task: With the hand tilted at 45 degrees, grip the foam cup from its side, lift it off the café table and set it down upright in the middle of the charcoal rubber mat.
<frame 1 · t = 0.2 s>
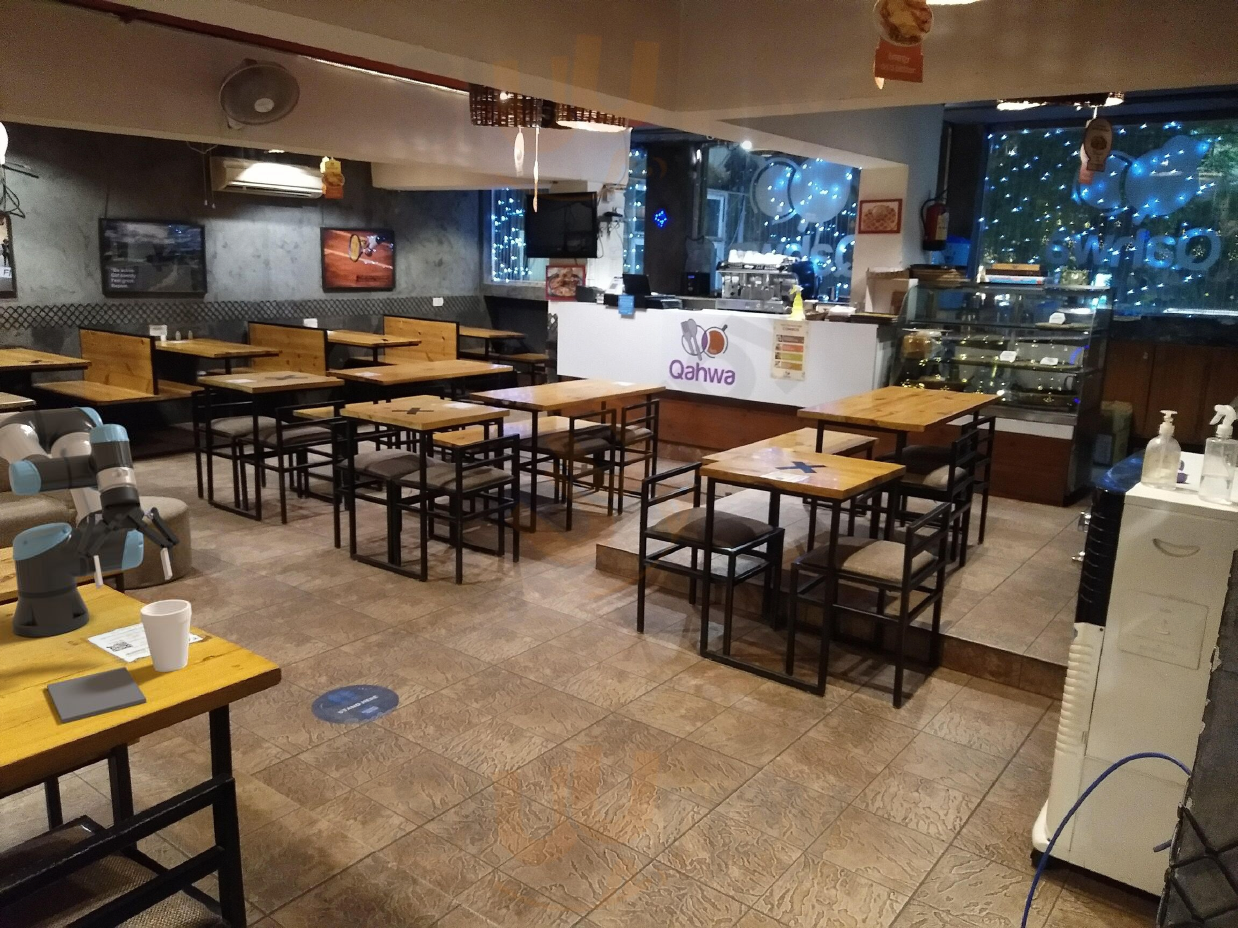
hand: (135, 582, 194), 16 cm above the table, tool tilted 35°, fingers open, 13 cm apart
foam cup: (170, 666, 191), on the table
rubber mat: (96, 695, 177), on the table
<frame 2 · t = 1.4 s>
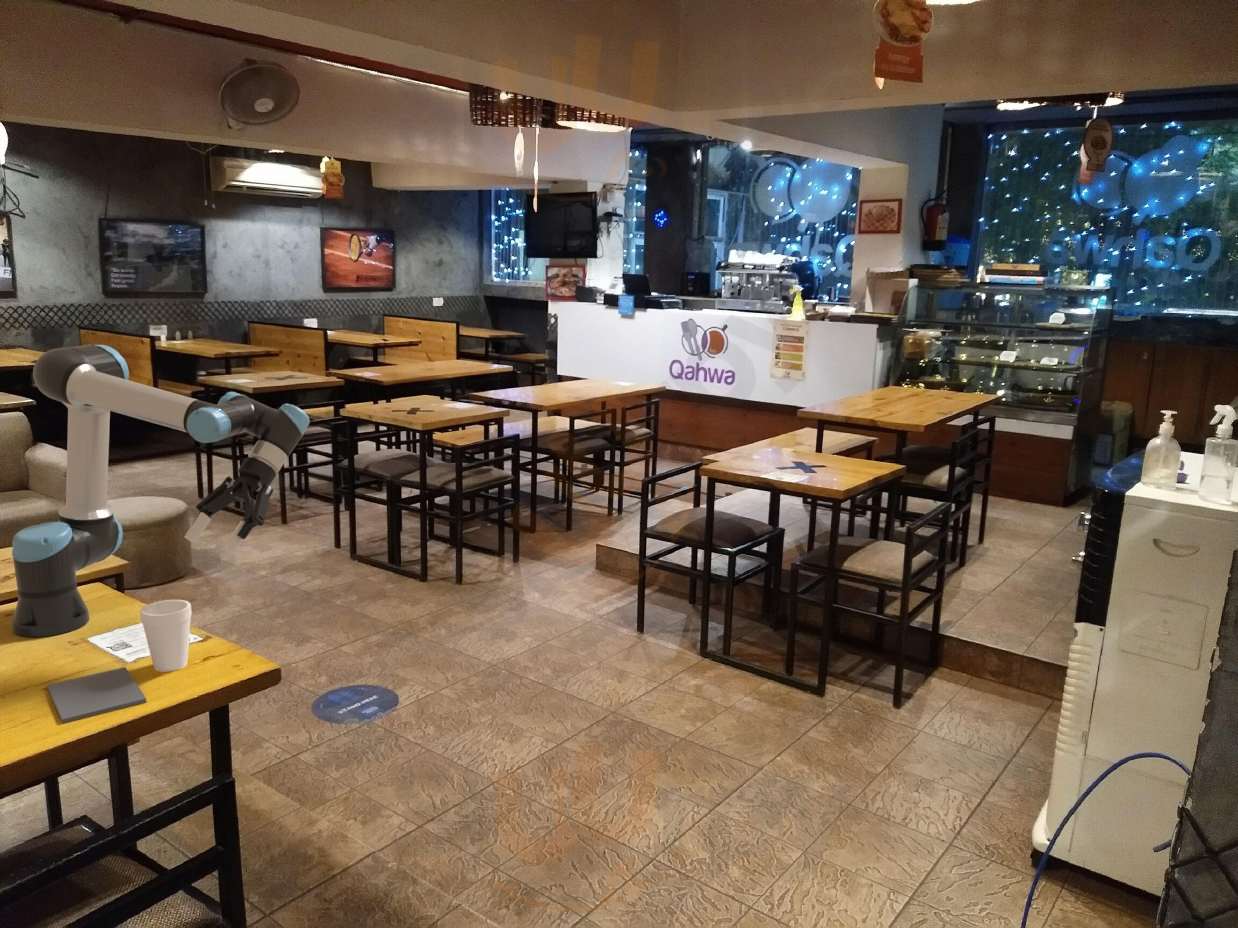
hand: (208, 545, 195), 24 cm above the table, tool tilted 45°, fingers open, 13 cm apart
nothing on the table moved.
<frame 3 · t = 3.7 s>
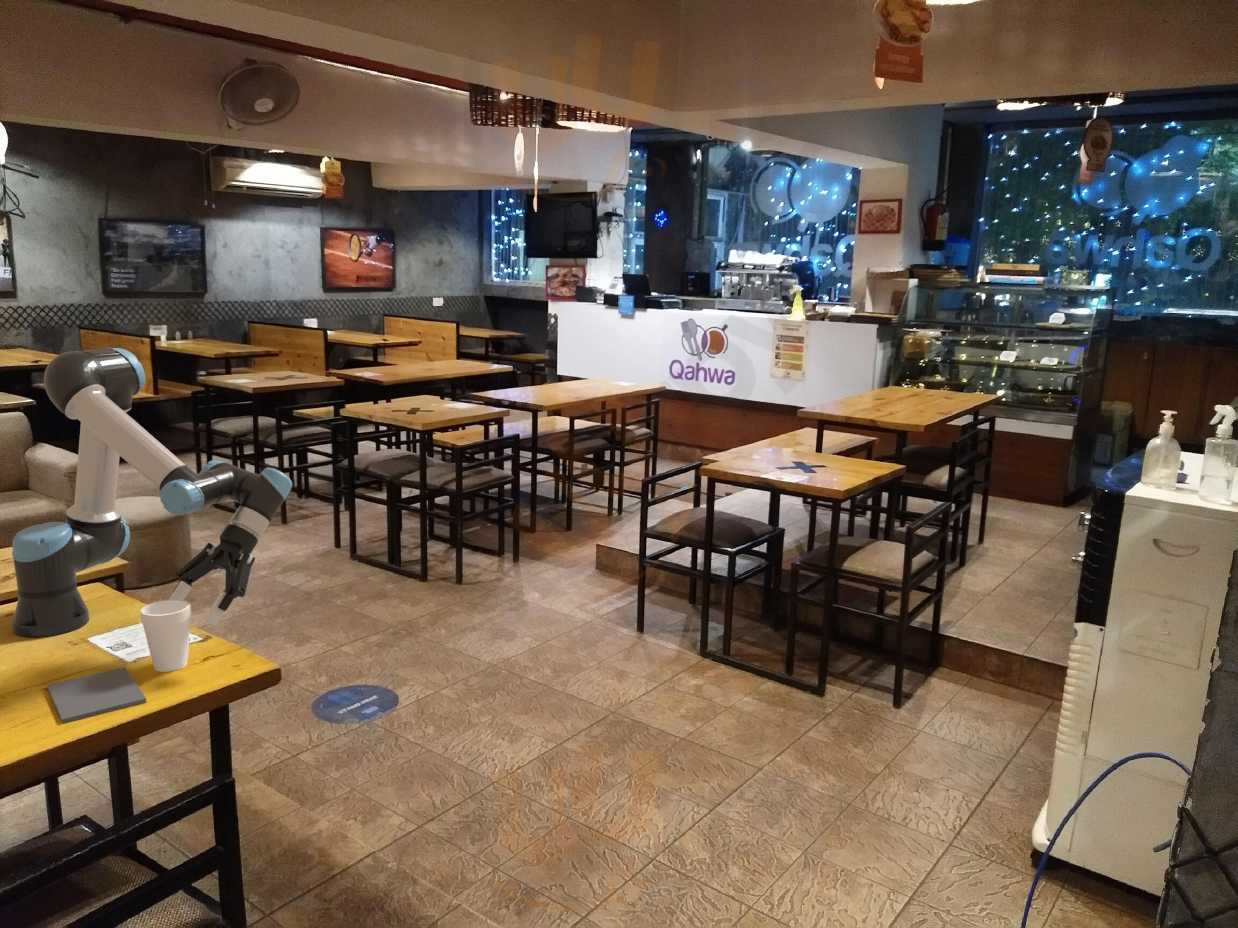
hand: (188, 616, 192), 10 cm above the table, tool tilted 45°, fingers open, 13 cm apart
nothing on the table moved.
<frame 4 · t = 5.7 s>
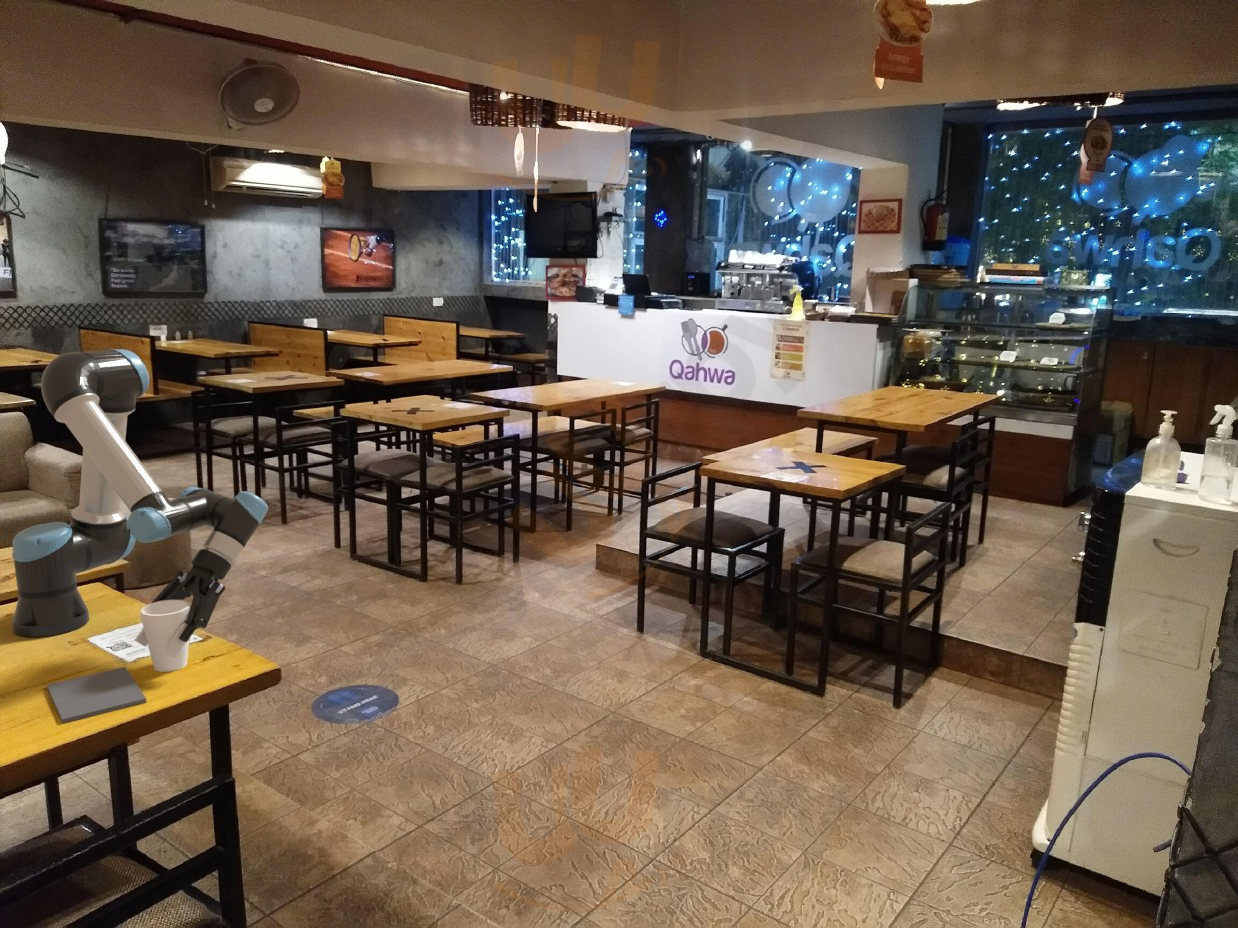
hand: (154, 648, 187), 5 cm above the table, tool tilted 45°, fingers closed on foam cup, 9 cm apart
foam cup: (170, 666, 191), on the table, touching gripper
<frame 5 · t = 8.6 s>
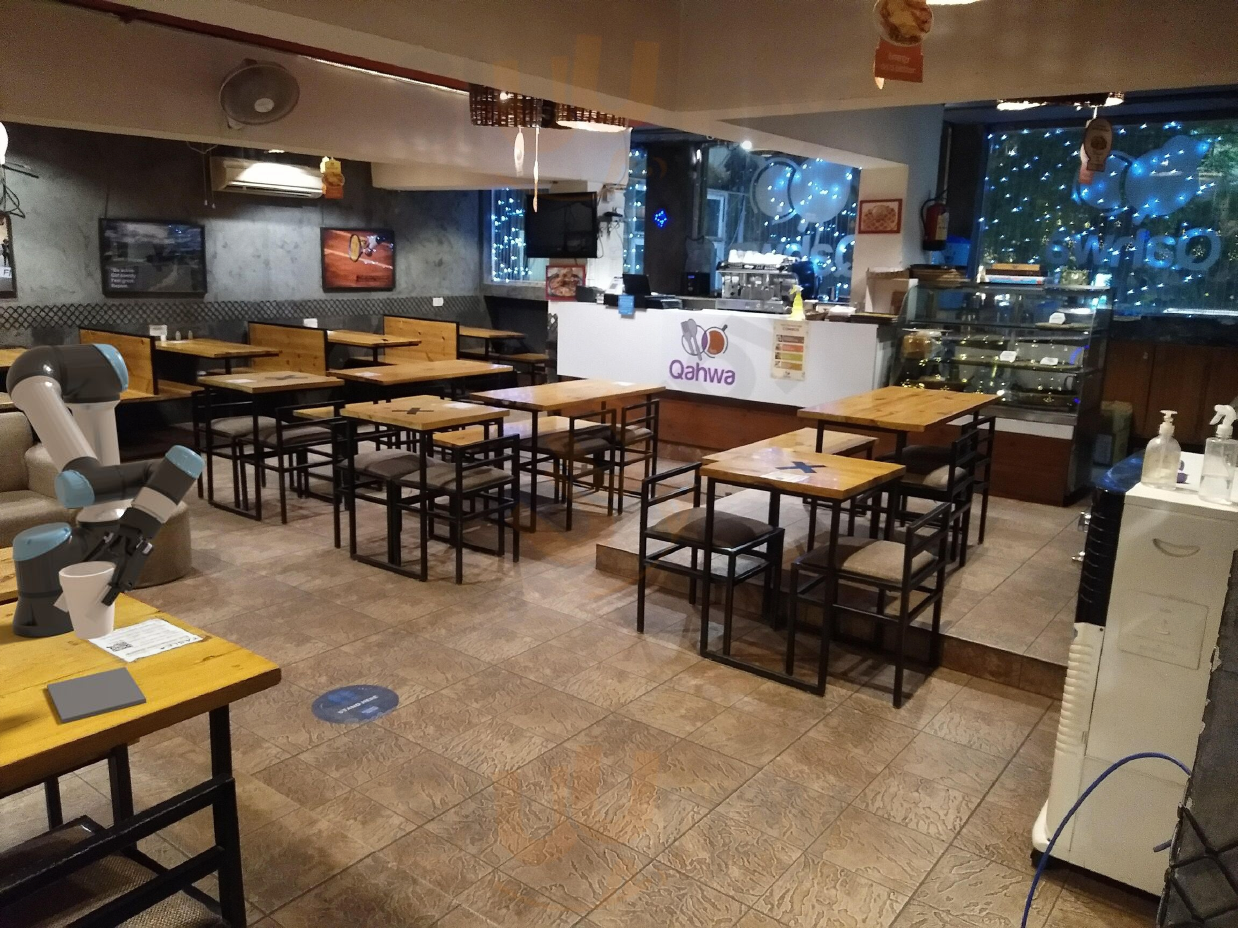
hand: (75, 613, 171), 18 cm above the table, tool tilted 45°, fingers closed on foam cup, 9 cm apart
foam cup: (94, 633, 175), point 13 cm above the table, touching gripper
when the fingers open (7 cm above the table, at t = 11.3 s): foam cup stays where it is, resting on rubber mat.
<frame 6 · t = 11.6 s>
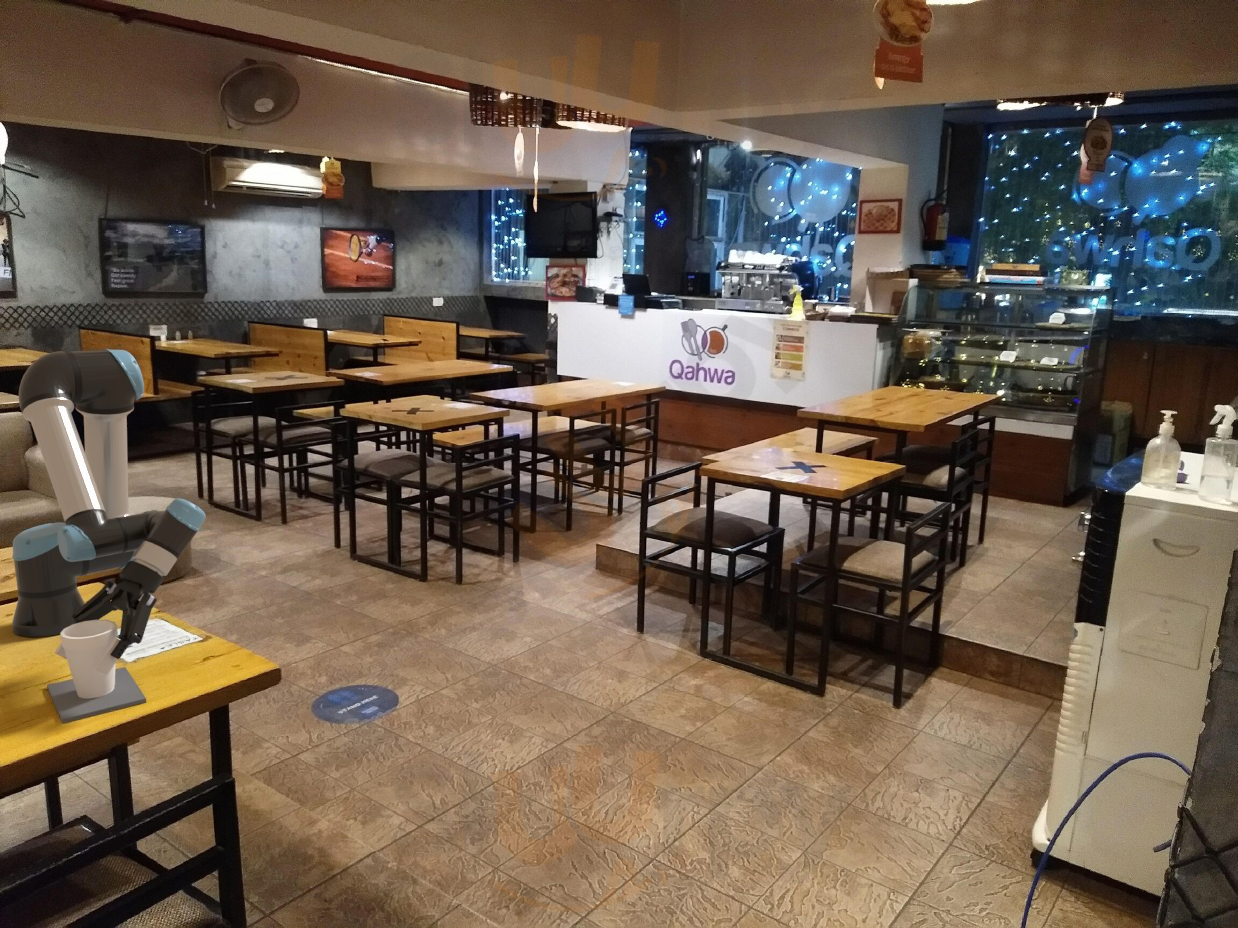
hand: (80, 664, 173), 7 cm above the table, tool tilted 45°, fingers open, 13 cm apart
foam cup: (96, 691, 177), point 1 cm above the table, touching rubber mat
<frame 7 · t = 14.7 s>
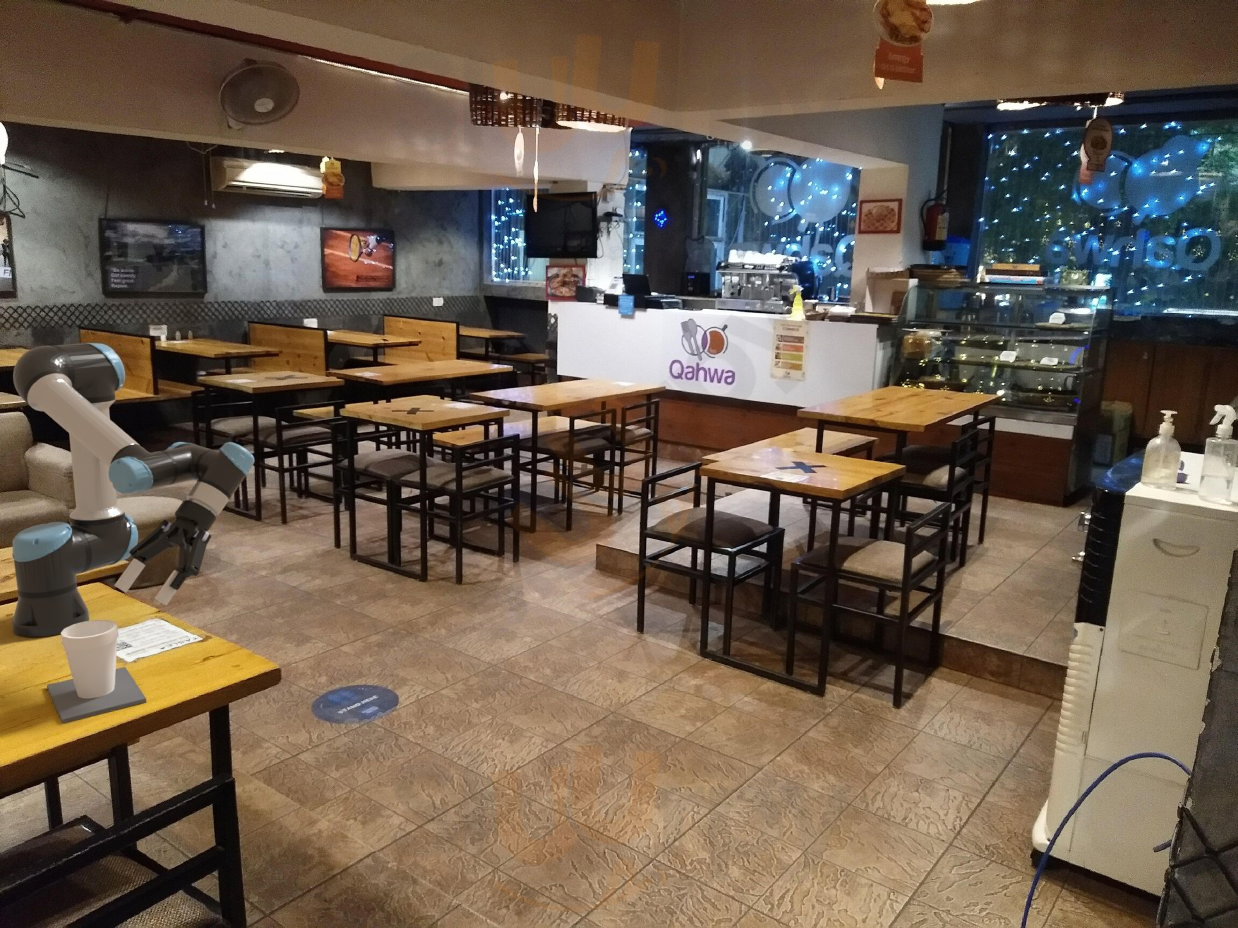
hand: (139, 595, 182), 17 cm above the table, tool tilted 45°, fingers open, 13 cm apart
nothing on the table moved.
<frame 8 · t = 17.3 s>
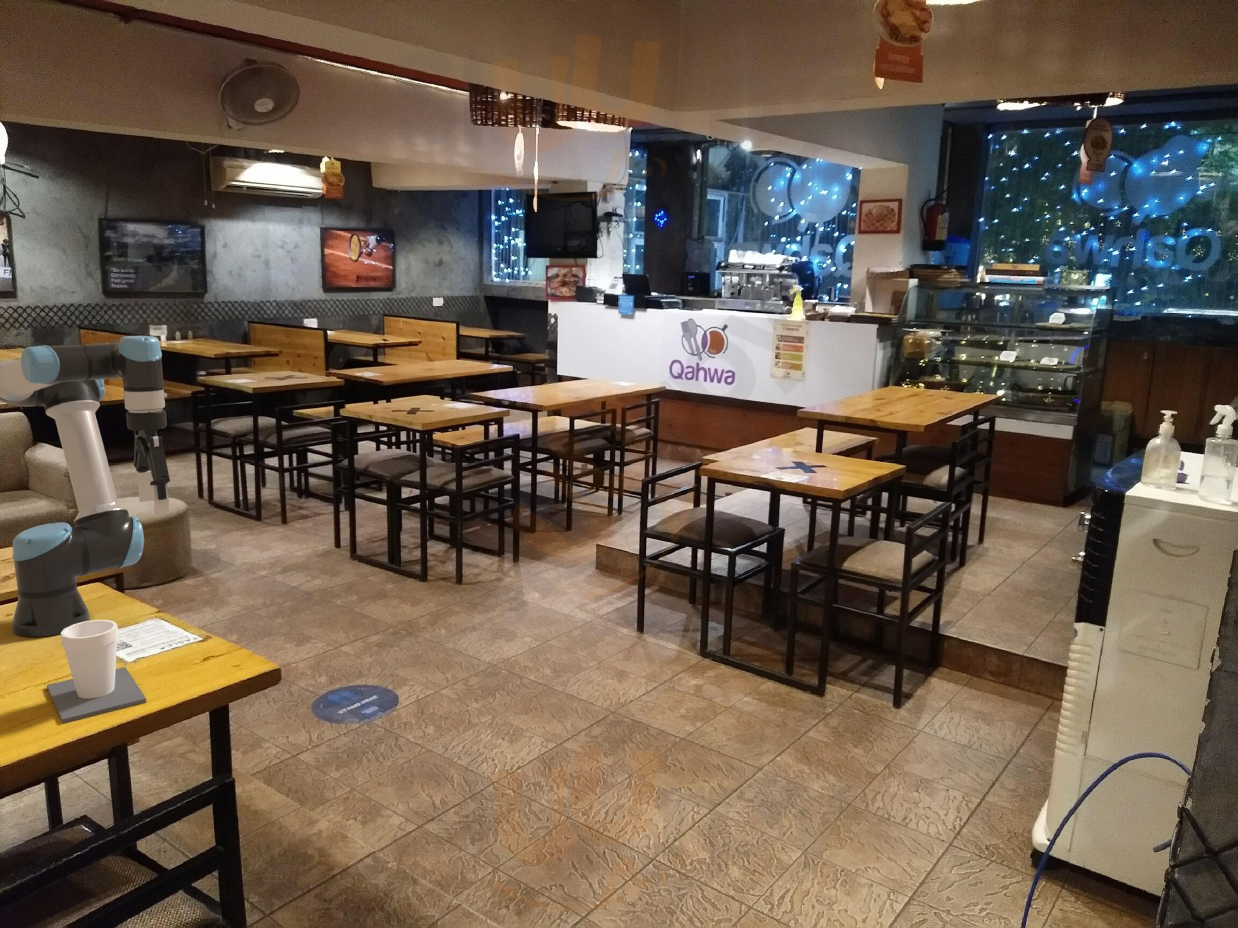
hand: (154, 507, 195), 32 cm above the table, tool pointing down, fingers open, 13 cm apart
nothing on the table moved.
at the end: foam cup inside the target area on the rubber mat (0.1 cm from its centre), point 0.6 cm above the rubber mat's base; foam cup tilted 0°; the gripper is holding nothing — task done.
